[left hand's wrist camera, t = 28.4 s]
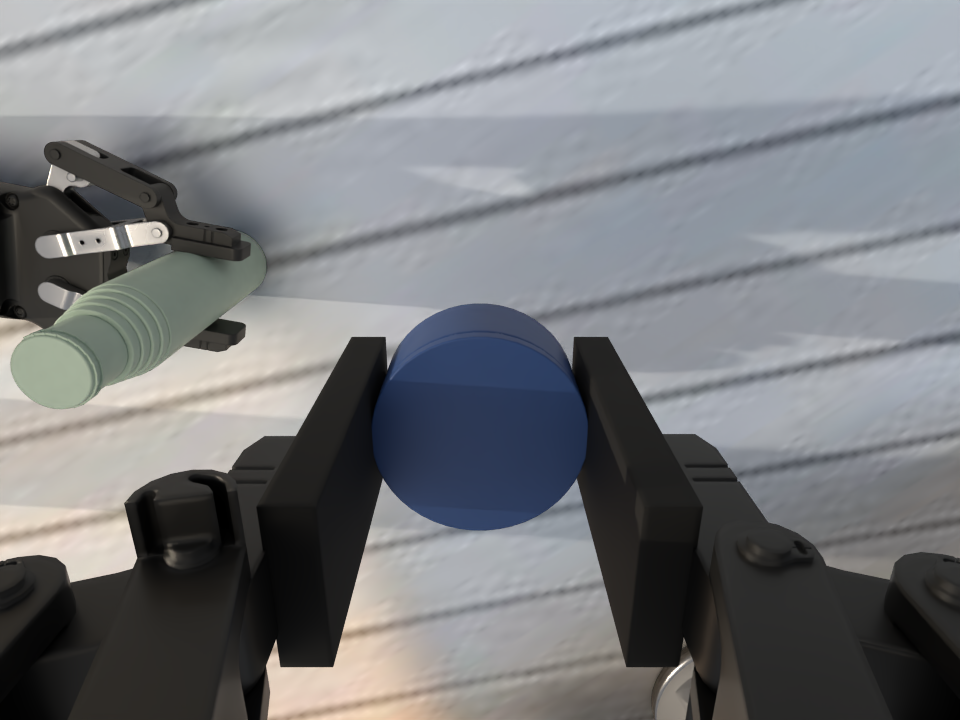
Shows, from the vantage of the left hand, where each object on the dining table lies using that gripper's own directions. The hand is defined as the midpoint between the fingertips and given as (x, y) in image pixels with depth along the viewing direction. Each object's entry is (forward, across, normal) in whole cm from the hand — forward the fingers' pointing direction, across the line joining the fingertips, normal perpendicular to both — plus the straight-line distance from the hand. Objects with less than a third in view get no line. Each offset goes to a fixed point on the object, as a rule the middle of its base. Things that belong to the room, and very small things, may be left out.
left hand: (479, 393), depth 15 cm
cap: (-2, 0, 0) cm, 2 cm away
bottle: (+28, +16, +3) cm, 33 cm away
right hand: (+22, +14, +4) cm, 27 cm away
